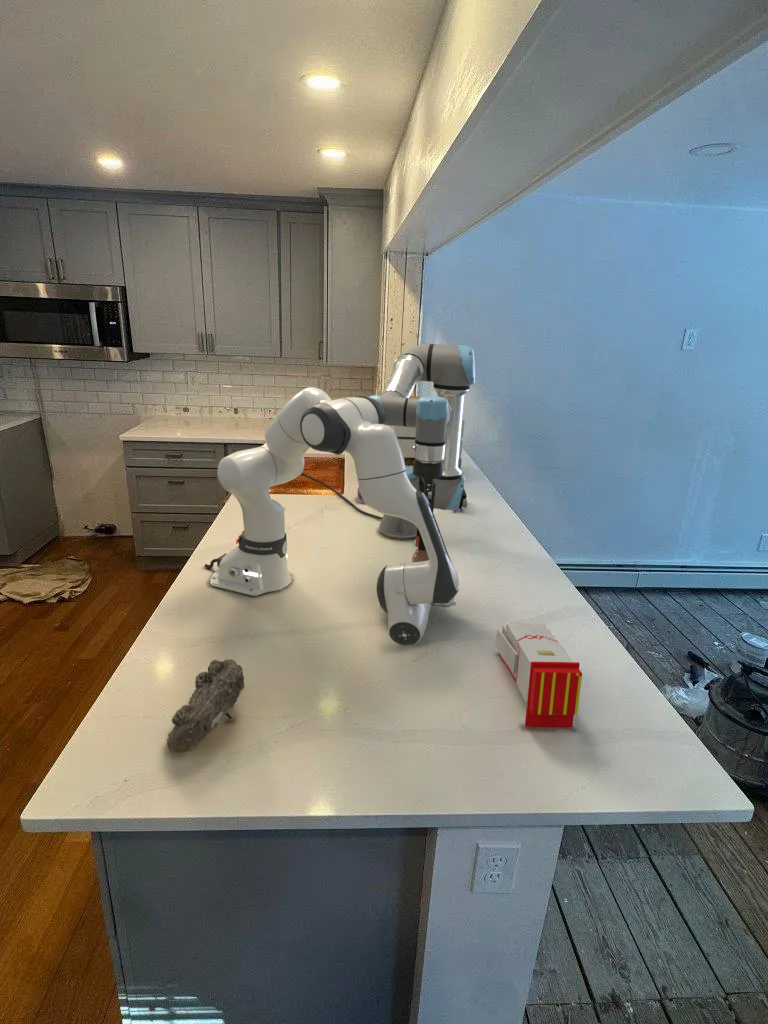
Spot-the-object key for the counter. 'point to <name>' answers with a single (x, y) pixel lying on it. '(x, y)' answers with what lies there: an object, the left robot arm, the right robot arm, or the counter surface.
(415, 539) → the cap
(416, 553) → the bottle
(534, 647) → the toy
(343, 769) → the counter surface
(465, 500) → the figurine character
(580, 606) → the counter surface
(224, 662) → the fossil
